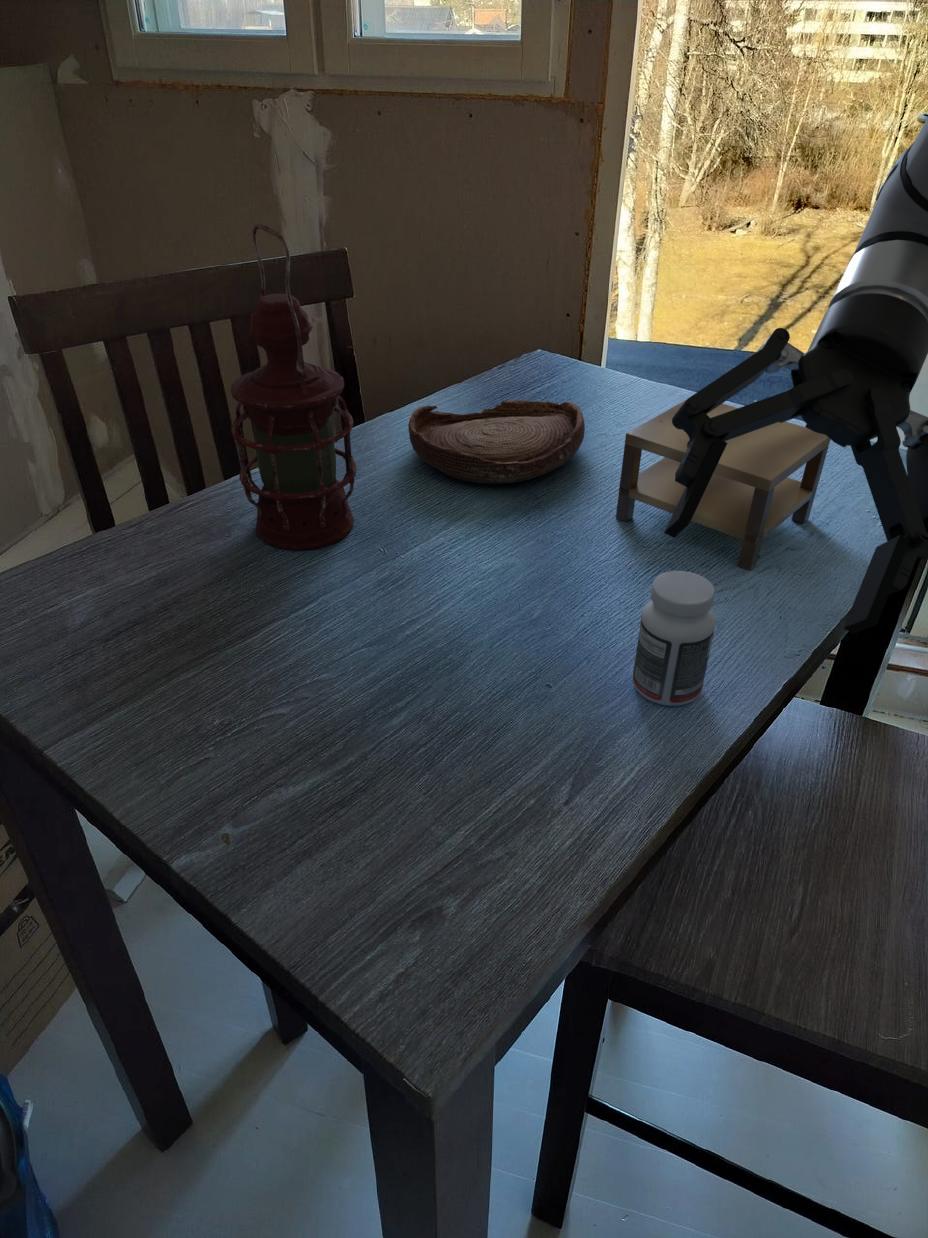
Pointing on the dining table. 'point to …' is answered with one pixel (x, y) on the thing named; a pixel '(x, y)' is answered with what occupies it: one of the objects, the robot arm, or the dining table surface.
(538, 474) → the basket
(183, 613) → the dining table surface
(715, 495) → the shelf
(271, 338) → the lantern
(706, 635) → the pill bottle
